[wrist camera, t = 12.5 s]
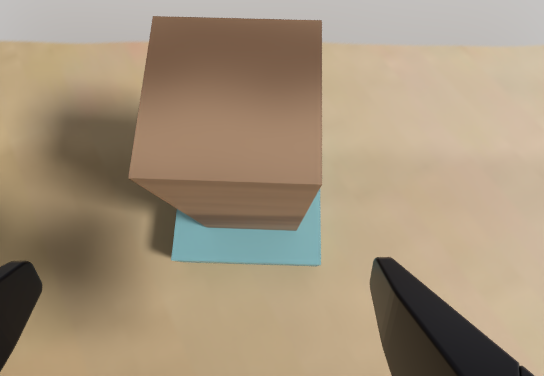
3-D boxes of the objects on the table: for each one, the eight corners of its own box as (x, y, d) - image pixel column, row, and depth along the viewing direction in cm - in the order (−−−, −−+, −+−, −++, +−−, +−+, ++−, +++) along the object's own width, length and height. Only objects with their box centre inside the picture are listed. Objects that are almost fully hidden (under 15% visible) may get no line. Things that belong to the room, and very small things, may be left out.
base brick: (315, 266, 22) (320, 264, 19) (185, 262, 22) (171, 260, 19) (314, 144, 24) (319, 126, 22) (197, 142, 25) (186, 124, 22)
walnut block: (296, 230, 20) (322, 184, 9) (207, 227, 20) (128, 178, 9) (297, 146, 21) (321, 20, 10) (214, 144, 21) (152, 16, 11)
